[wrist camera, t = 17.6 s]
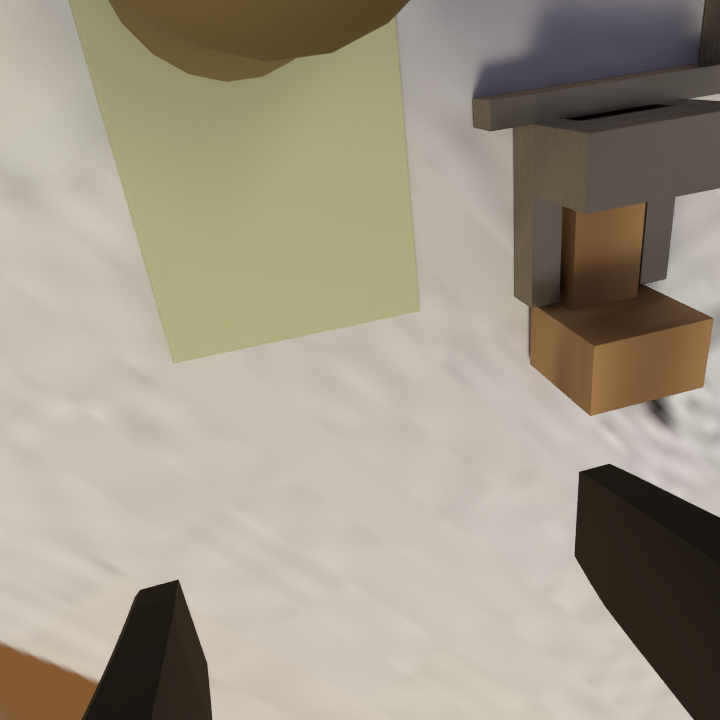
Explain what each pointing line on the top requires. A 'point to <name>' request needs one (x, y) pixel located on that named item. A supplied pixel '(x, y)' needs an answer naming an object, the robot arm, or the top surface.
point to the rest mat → (260, 187)
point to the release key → (614, 320)
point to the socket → (608, 157)
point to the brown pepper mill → (248, 31)
